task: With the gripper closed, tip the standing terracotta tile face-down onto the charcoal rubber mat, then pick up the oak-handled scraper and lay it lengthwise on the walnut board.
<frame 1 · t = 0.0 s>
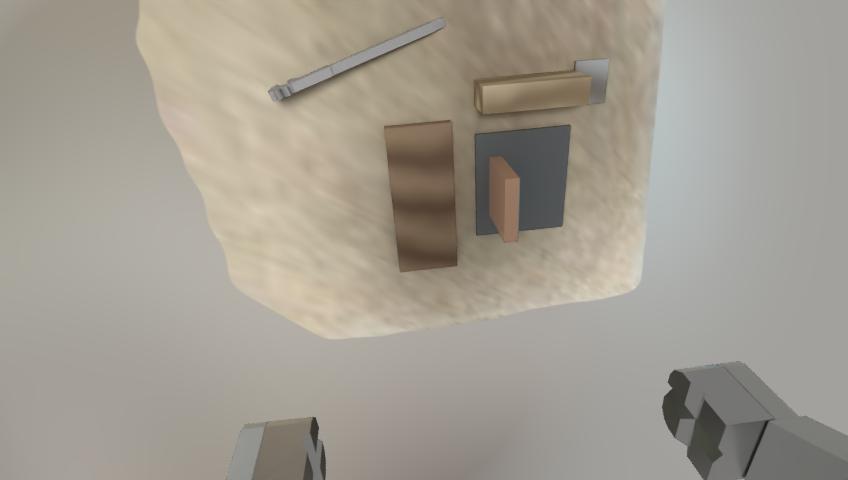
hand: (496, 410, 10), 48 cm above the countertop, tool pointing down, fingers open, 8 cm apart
board: (422, 199, 60), on the countertop
caliper: (358, 56, 52), on the countertop
scraper: (523, 87, 55), on the countertop
tile: (495, 186, 60), resting on mat
mat: (520, 182, 60), on the countertop
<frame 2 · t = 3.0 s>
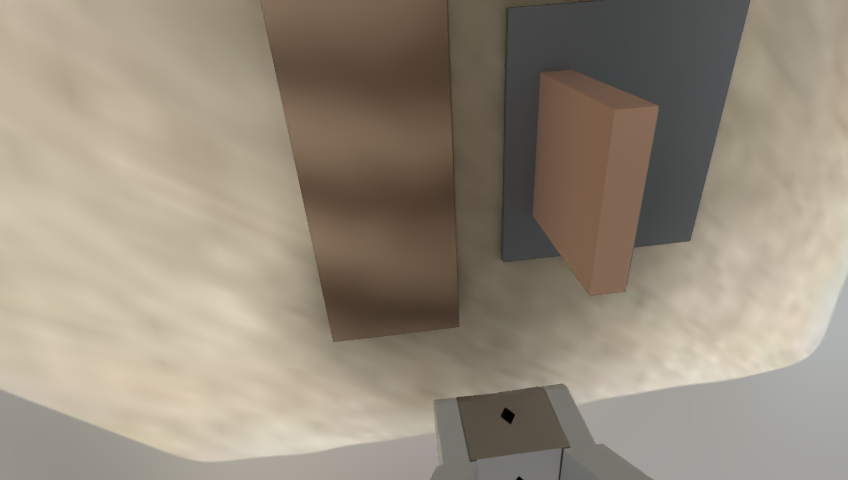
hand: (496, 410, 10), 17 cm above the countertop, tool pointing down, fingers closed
board: (378, 180, 25), on the countertop
tile: (550, 148, 25), resting on mat
mat: (609, 139, 25), on the countertop
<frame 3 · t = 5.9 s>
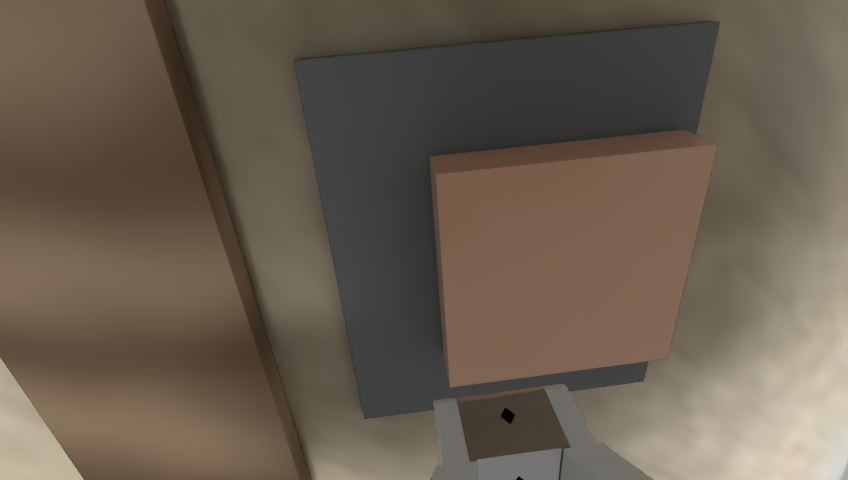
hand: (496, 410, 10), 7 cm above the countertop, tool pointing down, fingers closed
board: (142, 319, 16), on the countertop
tile: (440, 281, 15), point 1 cm above the countertop, tilted 90°, touching mat
mat: (505, 252, 16), on the countertop
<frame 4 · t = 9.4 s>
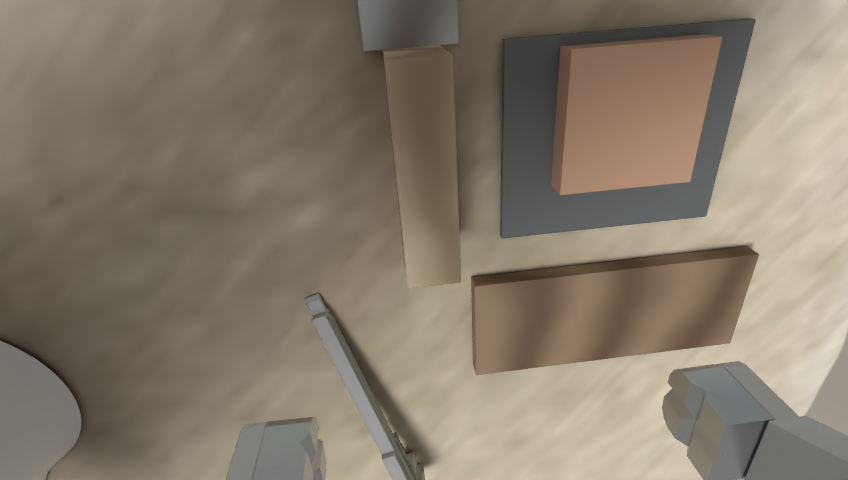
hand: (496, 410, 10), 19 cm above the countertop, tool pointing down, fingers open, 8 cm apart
board: (604, 307, 34), on the countertop
caliper: (372, 388, 36), on the countertop
scraper: (418, 155, 27), on the countertop
tile: (619, 183, 28), point 1 cm above the countertop, tilted 90°, touching mat
mat: (614, 136, 28), on the countertop
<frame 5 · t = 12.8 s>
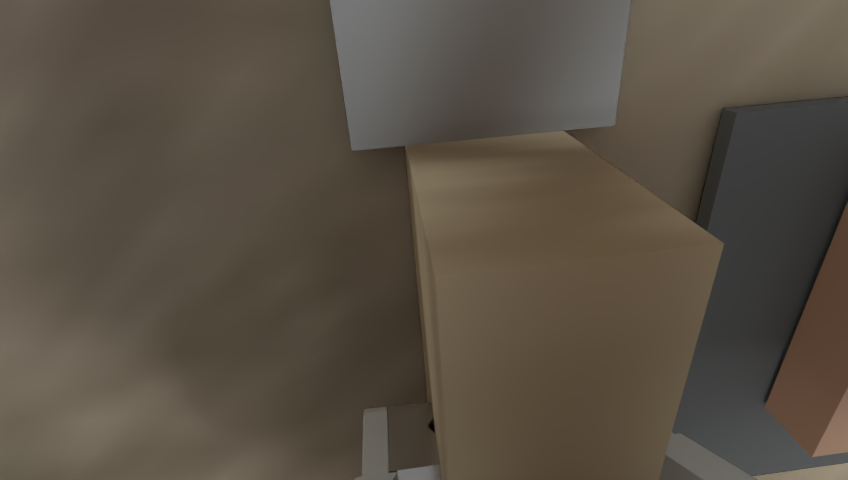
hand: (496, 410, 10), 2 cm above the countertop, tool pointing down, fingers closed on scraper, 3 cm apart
scraper: (482, 360, 12), on the countertop, touching gripper
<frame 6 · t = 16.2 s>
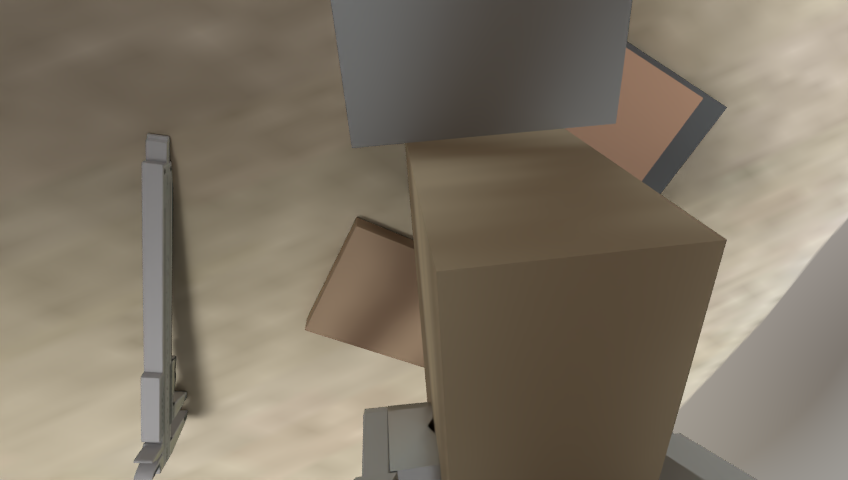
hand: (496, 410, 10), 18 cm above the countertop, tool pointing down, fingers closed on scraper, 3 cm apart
board: (468, 320, 31), on the countertop
caliper: (174, 293, 29), on the countertop
scraper: (482, 359, 12), point 16 cm above the countertop, touching gripper
tile: (548, 192, 26), point 1 cm above the countertop, tilted 90°, touching mat
mat: (565, 146, 26), on the countertop
when the fingers open (4 cm above the countertop, at t = 19.8 s): scraper drops 1 cm, resting on board.
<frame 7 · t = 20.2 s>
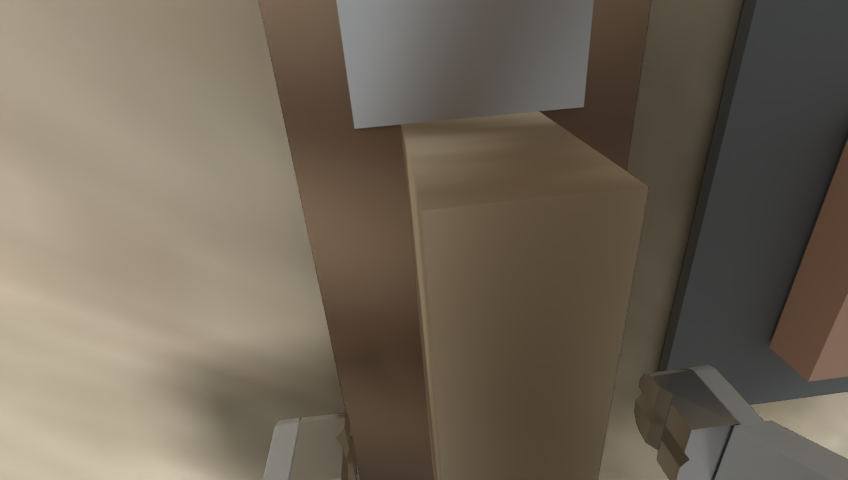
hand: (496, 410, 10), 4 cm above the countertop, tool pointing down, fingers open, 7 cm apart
board: (463, 302, 14), on the countertop
scraper: (471, 323, 13), point 1 cm above the countertop, touching board
tile: (830, 259, 13), point 1 cm above the countertop, tilted 90°, touching mat
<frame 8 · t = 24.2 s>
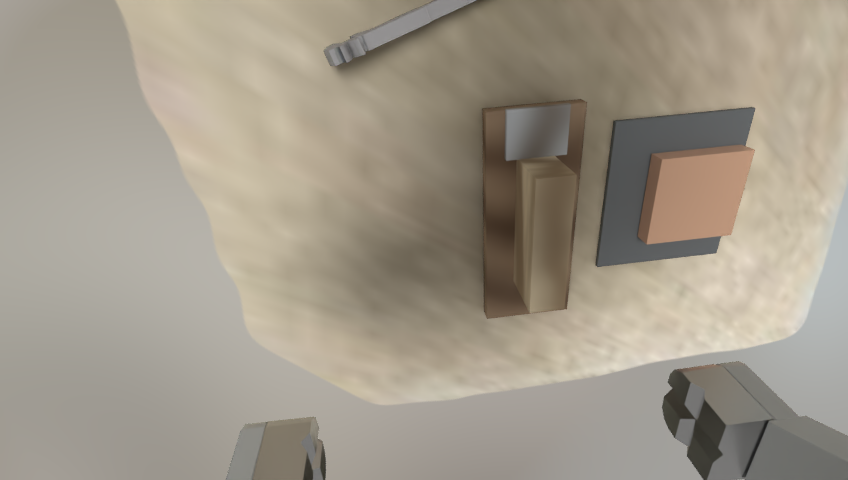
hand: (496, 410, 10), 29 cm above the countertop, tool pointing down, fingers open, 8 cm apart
board: (527, 216, 41), on the countertop
scraper: (531, 221, 40), point 1 cm above the countertop, touching board
tile: (649, 200, 40), point 1 cm above the countertop, tilted 90°, touching mat
mat: (668, 191, 42), on the countertop
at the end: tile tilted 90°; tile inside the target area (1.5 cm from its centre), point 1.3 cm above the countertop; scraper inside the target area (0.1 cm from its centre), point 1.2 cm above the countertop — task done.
